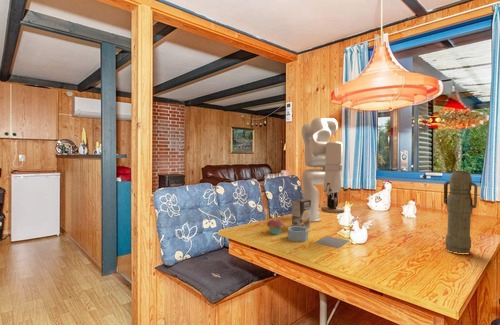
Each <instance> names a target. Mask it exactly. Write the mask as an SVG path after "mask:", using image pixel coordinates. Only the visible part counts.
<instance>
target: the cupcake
mask: <svg viewBox="0 0 500 325" xmlns="http://www.w3.org/2000/svg"><path fill="white" fill-rule="evenodd" d="M266 226H267V228H269V233H270V234H271V235H280V234H281V231H282V229H283V228H284V223H283V222H282V221H281V220H279V219H276V212H273V219H271V220H269V221H268V222H267V223H266Z"/></svg>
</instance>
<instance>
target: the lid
mask: <svg viewBox="0 0 500 325" xmlns="http://www.w3.org/2000/svg"><path fill="white" fill-rule="evenodd" d="M336 201H337V198H335V197H334V208H328V207H327V205H326V206H321V207H320V211H321V212H322V213H327V214H345V208H344V207H340V206H337V207H336Z"/></svg>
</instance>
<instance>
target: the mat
mask: <svg viewBox="0 0 500 325" xmlns="http://www.w3.org/2000/svg"><path fill="white" fill-rule="evenodd" d="M349 242H350V240H349V239H343V238H340V237H339V238H338V237H334V236H330V235H329V236H328V235H326V236H324V237H322V238H320V239H318V240H315V241H314V242H313V243H314V244H318V245H321V246H322V245H323V246H327V247H331V248H336V249H339V248H342V247H343V246H345V245H346V244H347V243H349Z"/></svg>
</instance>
